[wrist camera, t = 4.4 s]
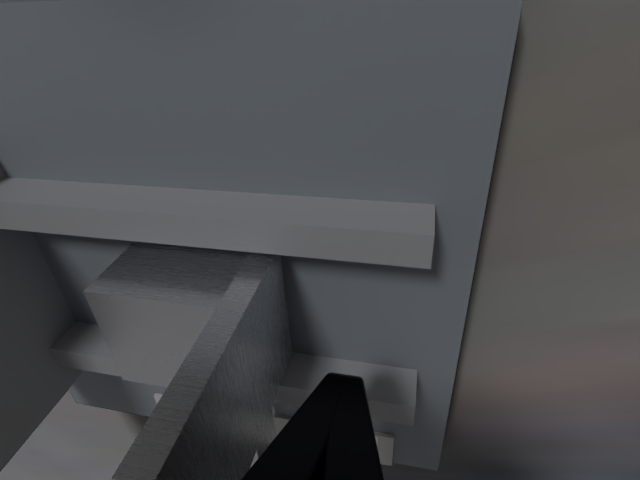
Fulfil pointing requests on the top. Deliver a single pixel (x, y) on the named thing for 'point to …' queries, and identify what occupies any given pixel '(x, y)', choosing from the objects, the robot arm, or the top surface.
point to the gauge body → (251, 185)
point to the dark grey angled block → (196, 354)
